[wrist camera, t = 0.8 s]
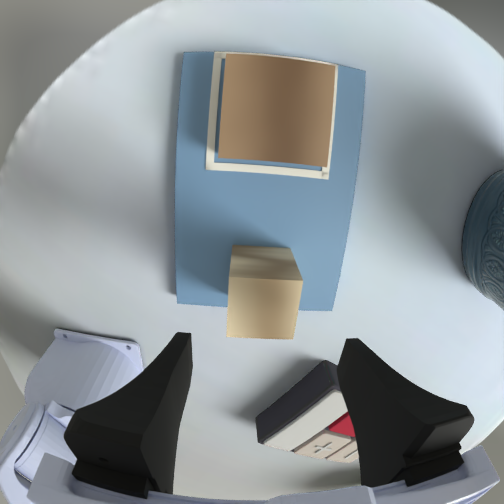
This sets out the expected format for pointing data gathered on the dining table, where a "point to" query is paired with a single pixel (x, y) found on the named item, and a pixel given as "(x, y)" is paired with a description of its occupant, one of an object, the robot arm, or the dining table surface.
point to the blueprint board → (259, 192)
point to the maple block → (263, 292)
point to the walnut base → (276, 110)
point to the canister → (486, 240)
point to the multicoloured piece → (311, 419)
